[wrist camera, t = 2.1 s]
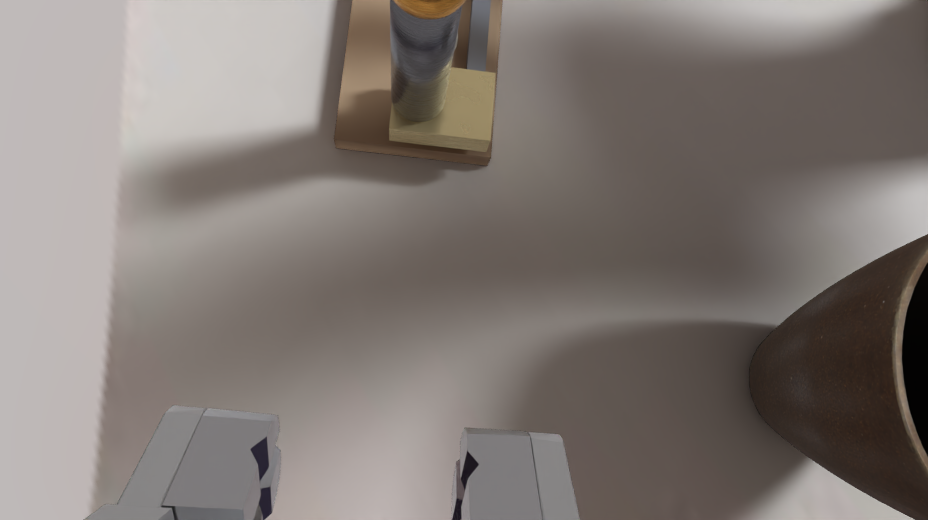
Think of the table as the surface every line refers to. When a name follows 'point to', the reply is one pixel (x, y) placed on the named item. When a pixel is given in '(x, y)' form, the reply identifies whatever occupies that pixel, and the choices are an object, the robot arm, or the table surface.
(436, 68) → the sliding leg
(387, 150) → the wooden peg board
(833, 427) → the plant pot
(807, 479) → the table surface
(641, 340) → the table surface
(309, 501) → the table surface
